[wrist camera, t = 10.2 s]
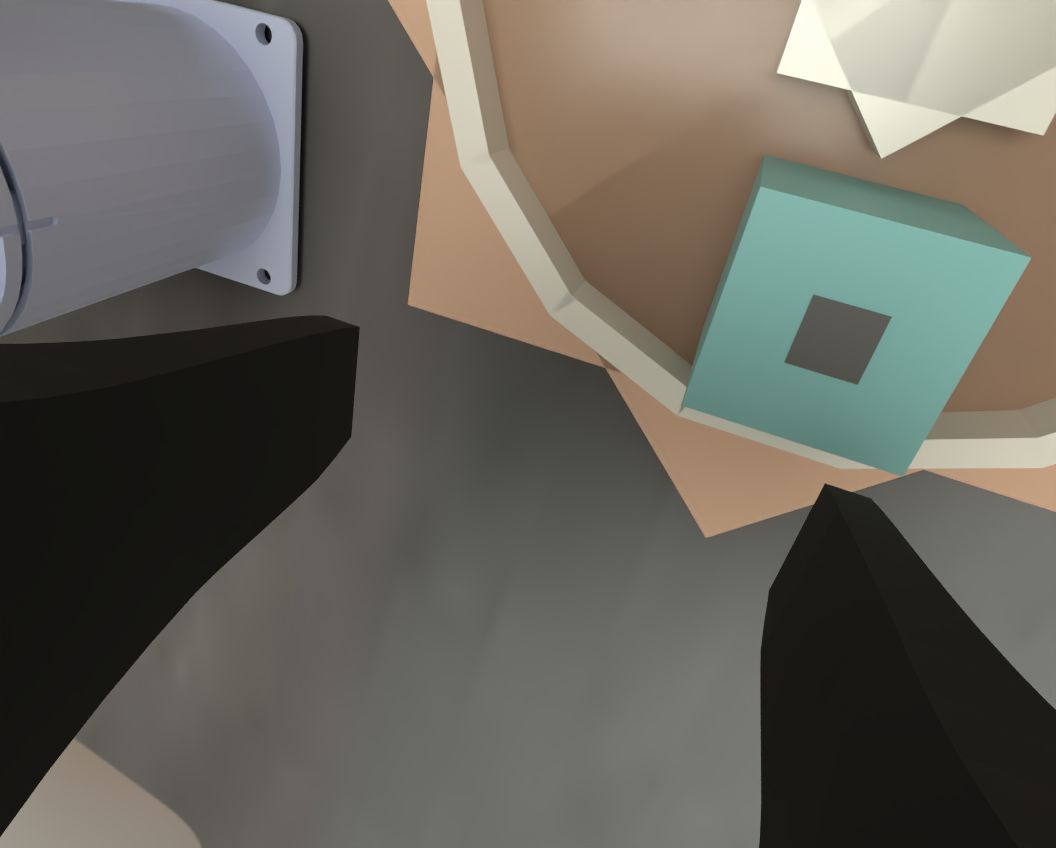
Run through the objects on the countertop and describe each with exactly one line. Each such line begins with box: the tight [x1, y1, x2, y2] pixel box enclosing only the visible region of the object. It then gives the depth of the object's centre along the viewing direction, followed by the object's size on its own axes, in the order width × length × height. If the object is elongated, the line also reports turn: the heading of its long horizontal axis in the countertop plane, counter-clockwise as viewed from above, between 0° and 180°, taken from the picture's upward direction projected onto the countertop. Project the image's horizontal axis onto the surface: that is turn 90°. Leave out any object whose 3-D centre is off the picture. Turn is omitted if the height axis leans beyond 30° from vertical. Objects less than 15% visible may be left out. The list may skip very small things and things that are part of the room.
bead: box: [682, 154, 1031, 477], centre depth 15 cm, size 4×4×5 cm
